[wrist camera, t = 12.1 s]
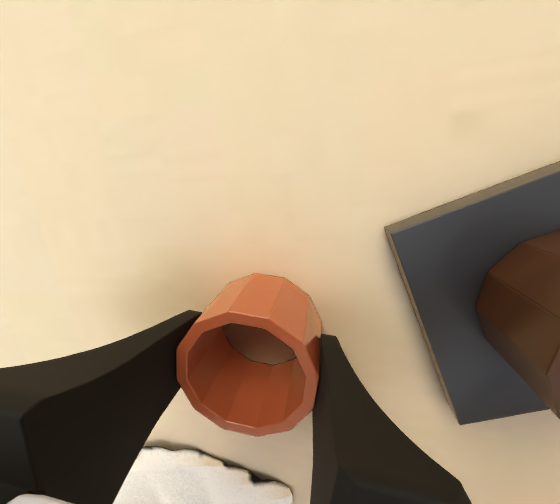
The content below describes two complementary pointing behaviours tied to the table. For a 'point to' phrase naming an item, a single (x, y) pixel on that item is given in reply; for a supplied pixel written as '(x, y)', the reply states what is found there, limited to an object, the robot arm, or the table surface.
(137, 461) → the cloth
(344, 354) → the robot arm
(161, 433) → the table surface
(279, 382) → the terracotta ring
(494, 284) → the walnut ring
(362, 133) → the table surface
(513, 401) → the peg stand
